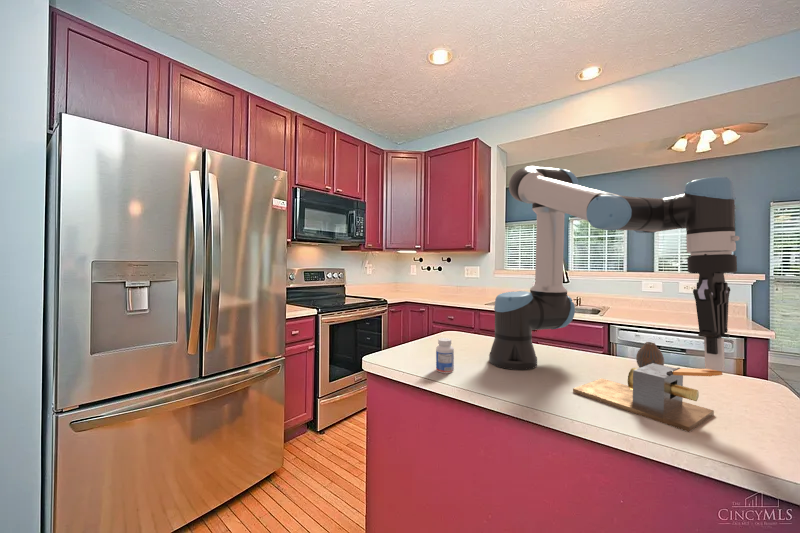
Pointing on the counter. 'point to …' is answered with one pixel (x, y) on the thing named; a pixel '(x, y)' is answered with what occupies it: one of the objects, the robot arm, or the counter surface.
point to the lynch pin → (672, 389)
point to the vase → (649, 355)
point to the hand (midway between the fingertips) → (714, 369)
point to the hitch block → (649, 397)
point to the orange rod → (697, 372)
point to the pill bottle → (444, 356)
